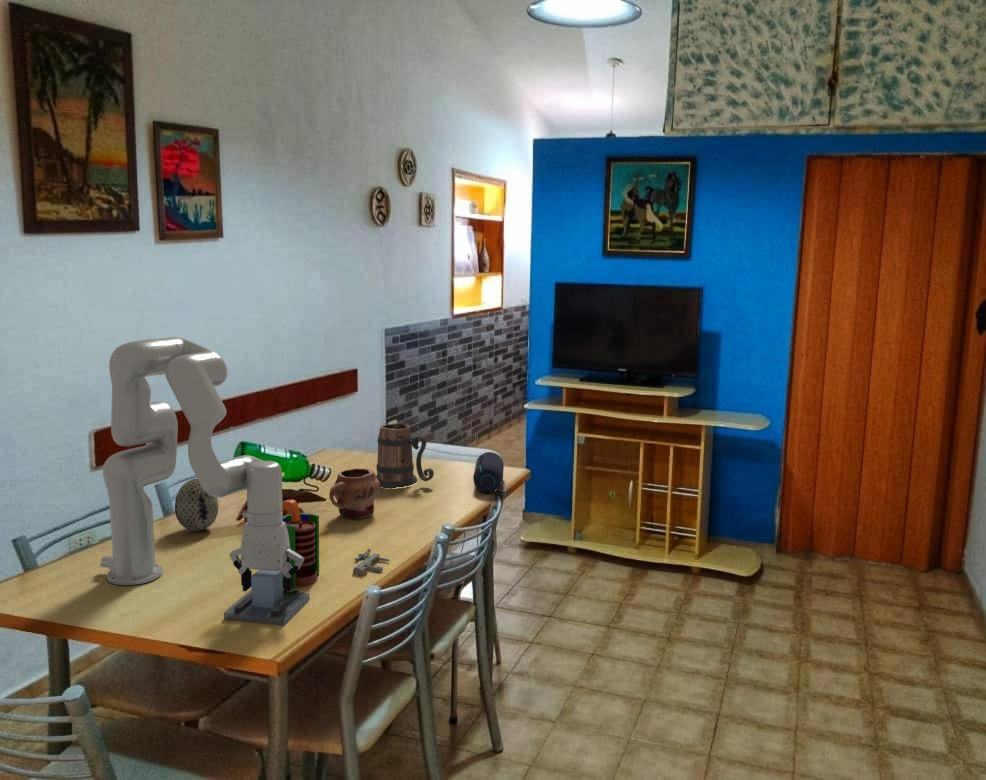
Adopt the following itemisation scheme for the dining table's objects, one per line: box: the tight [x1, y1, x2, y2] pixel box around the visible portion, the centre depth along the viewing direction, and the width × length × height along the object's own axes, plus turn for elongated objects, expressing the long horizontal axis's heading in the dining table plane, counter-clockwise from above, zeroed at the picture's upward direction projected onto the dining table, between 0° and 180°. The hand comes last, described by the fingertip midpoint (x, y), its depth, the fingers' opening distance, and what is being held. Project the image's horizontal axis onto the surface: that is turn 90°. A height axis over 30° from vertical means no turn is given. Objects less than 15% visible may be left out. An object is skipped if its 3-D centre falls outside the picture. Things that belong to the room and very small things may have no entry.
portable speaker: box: [472, 451, 505, 493], centre depth 294 cm, size 25×10×10 cm, turn 179°
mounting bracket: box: [223, 588, 311, 626], centre depth 191 cm, size 14×14×2 cm
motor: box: [282, 499, 320, 590], centre depth 207 cm, size 10×9×20 cm
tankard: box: [375, 423, 435, 489], centre depth 294 cm, size 24×17×20 cm
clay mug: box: [328, 468, 381, 520], centre depth 257 cm, size 20×12×14 cm, turn 152°
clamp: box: [352, 548, 391, 577], centre depth 219 cm, size 15×2×10 cm
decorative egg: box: [174, 478, 219, 532], centre depth 243 cm, size 12×12×15 cm
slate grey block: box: [250, 569, 283, 608], centre depth 192 cm, size 5×7×7 cm
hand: (267, 590), depth 191 cm, fingers open, 9 cm apart
